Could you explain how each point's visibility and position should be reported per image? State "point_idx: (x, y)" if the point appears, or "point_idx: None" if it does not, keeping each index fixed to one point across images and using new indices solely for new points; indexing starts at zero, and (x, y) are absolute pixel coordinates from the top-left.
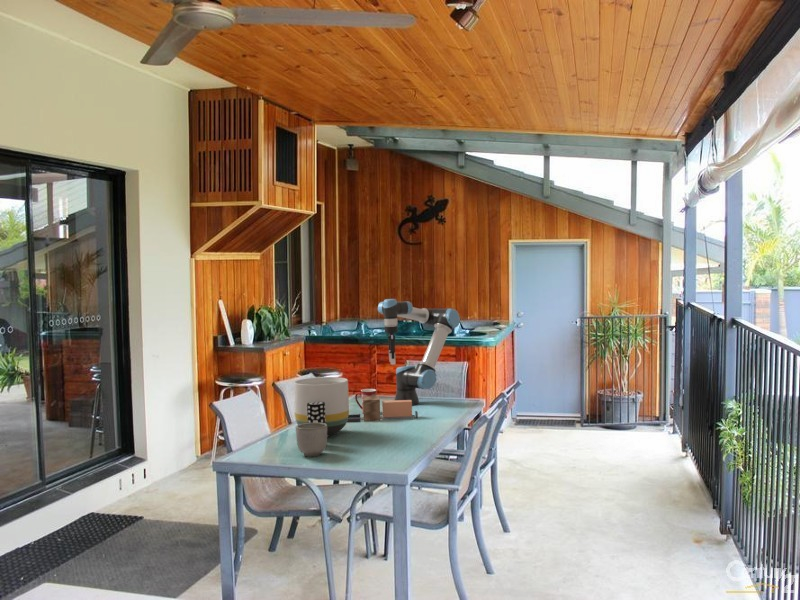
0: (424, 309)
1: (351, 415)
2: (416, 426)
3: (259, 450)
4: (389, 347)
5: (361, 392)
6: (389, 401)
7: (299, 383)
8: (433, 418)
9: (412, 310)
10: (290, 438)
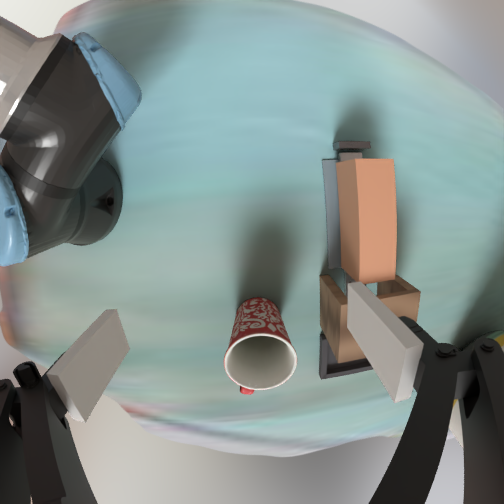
0: None
1: (326, 360)
2: (458, 161)
3: None
4: (74, 447)
5: (272, 382)
6: (377, 253)
7: None
8: (367, 95)
9: None
10: None
